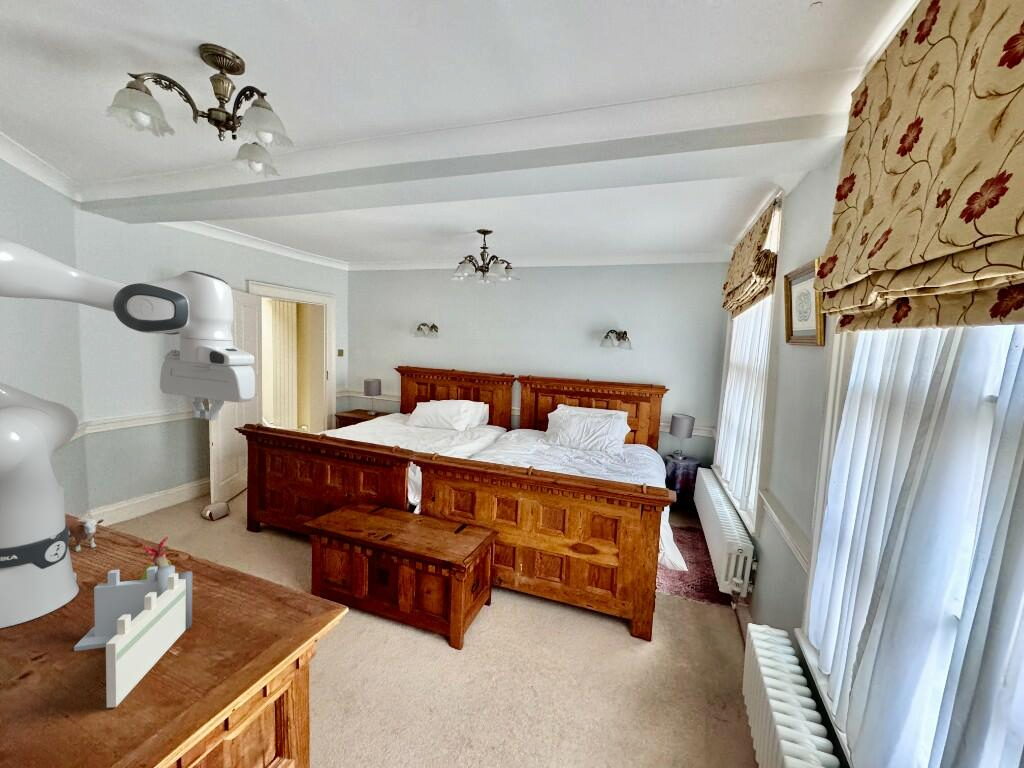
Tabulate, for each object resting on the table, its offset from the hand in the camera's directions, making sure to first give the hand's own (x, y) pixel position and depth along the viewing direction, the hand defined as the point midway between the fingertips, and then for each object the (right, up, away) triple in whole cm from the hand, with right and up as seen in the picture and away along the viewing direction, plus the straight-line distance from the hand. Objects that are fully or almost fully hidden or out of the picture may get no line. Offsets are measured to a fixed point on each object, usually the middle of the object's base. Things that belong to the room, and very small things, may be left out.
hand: (206, 419), depth 85 cm
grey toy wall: (-5, -38, -12) cm, 40 cm away
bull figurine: (-42, -33, +14) cm, 55 cm away
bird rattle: (-11, -37, +2) cm, 38 cm away
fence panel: (+4, -39, -17) cm, 43 cm away
